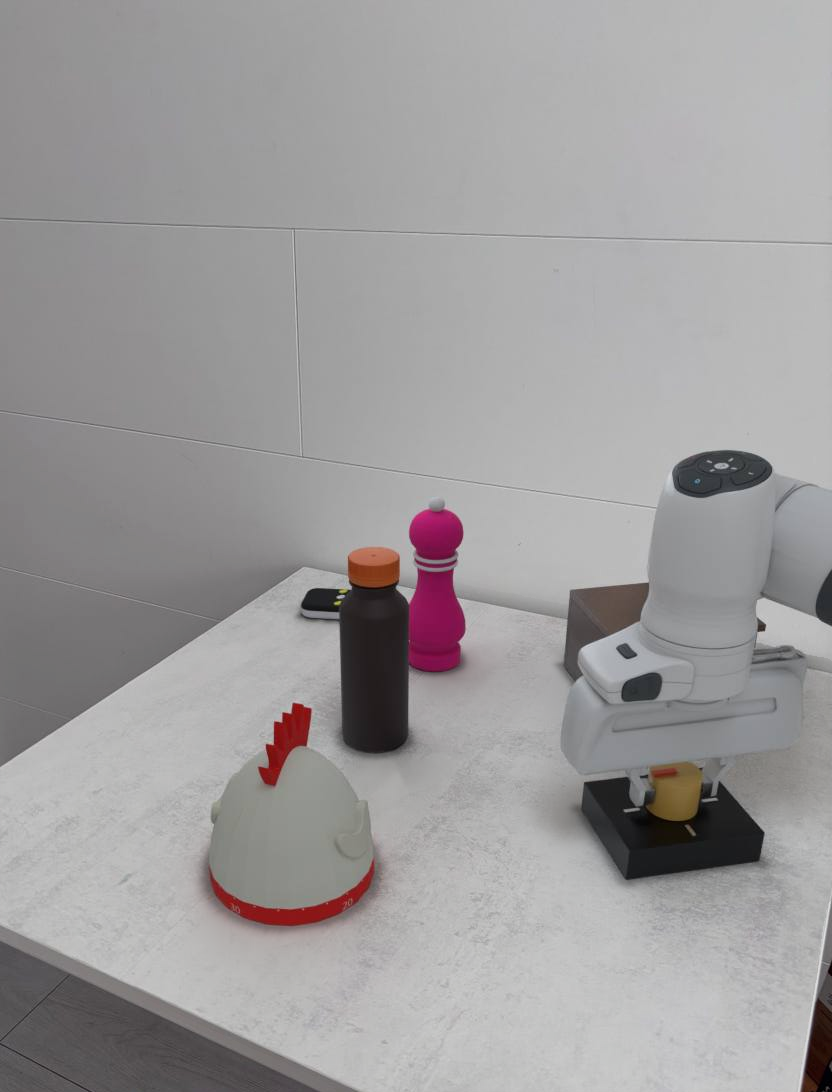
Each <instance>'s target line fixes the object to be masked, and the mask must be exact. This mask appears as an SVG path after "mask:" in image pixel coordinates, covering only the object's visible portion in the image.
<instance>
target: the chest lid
mask: <svg viewBox="0 0 832 1092" xmlns="http://www.w3.org/2000/svg"><path fill="white" fill-rule="evenodd" d="M648 594H649V581H648V582H637V583H627V584H617V585H605V586H595V587H585V588H574V589H573V588H572V589H569V597H571V598H572V599H573V601H574V602H575V603H576V604H577V605H578V606H579V607H580V608H581V610H582V611H583V612H584V613H585V614H586V615H587V616H588V617H589V618H590V620H591V621H592V622H593V623H594V624H595V625H596V626H597V627H598V629H599V630H600V631H601V632H602V633H603V634H604V635H605V636H606V637H608V636H610V635H613V634H615V633H617V632H619V631H621V630H623V629H625V628H627V627H629V626H631V625H633V624H635V623H637V622H639V621H640V618H641V612H642V609H643V606H644V604H645V602H646V600H647V598H648ZM757 622H758V628H757V633H762V632H766V630H767V629H766V628H767V624H766V623H765V622H764V621H762V619H760V618H759V617H757Z"/></svg>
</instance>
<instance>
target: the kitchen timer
mask: <svg viewBox="0 0 832 1092" xmlns="http://www.w3.org/2000/svg"><path fill="white" fill-rule="evenodd" d="M312 709H313V708H312V707H308V706H305V705H304V704H303V703H298V702H292V704H291V711H290V712H291V713H290V712H285V711H282V712H281V713H282V714H281V721H277V720H274V721H273V744H271V743H265V749H264V750H261V751H259V752H257V754H255V755H254V756H253V757H252V758H250V759H249V760H248V761H247V762H246V763H245V764H243V766H242V767H241V768H240V769H239V770H238V771H237V772H235V773H233V775H231V776H230V778H229V780H228V782H227V784H226V786H225V788H224V790H223V792H222V794H221V796H220V797H219V799H218V800H217V801H214V802H212V804H211V809H210V823H211V824H213V827H212V832H211V838H210V844H209V853H208V868H209V878H210V882H211V885H212V888H213V891H214V895H215V896H216V897H217V898H218V899H219V900H220V901H221V902H222V904H223V905H224V906H225V907H226V908H227V909H228V910H230V911H232V912H234V913H236V914H237V915H239V916H241V917H242V918H244V919H247V920H251V921H254V922H258V923H261V924H265V925H273V926H274V925H275V926H290V927H291V926H298V925H299V926H300V925H305V924H312V923H317V922H320V921H323V920H326V919H328V918H332V917H335V916H337V915H340V914H342V912H344V911H345V910H347V909H349V908H350V907H351V906H353V905H354V904H357V902H358V901H360V899H361V898H362V896H363V895H364V894H365V893H366V892H367V890H368V889H369V888H370V886H371V882H372V880H373V877H374V874H375V855H374V844H373V837H372V824H371V815H370V814H371V813H370V809H369V803H368V800H366V799H363V800H360V799H359V797H358V795H357V792H356V791H355V790H354V788H353V786H352V785H351V783H350V782H349V780H348V778H347V777H346V776H345V774H344V773H343V772H342V771H341V770H340V768H338V767H337V766H336V764H334V763H333V762H332V761H331V760H330V759H328V758H327V757H326V756H325V755H324V754H322V753H321V752H319V751H317V750H315V749H312V748H311V747H308V746H307V745H308V741H309V735H310V727H311V720H312V713H313V712H312V711H313V710H312Z"/></svg>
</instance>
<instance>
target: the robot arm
mask: <svg viewBox="0 0 832 1092" xmlns="http://www.w3.org/2000/svg"><path fill="white" fill-rule="evenodd" d="M830 274H831V275H830V276H831V278H832V272H831V273H830ZM647 554H648V555H647V563H646V573H647V580H648V582H649V594H648V598H647V600H646V602H645V604H644V606H643V609H642V612H641V618H640V621H639V622H637V623H635V624H633V625H631V626H629V627H627V628H625V629H623V630H621V631H619V632H617V633H615V634H613V635H610V636H608V637H605V638H603V639H600V640H598V641H595V642H593V643H590V644H588V645H586V646H584V647H583V648H581V650H580V651H579V653H578V666H579V668H580V670H581V671H582V673H583V676H581V677H580V678H579V679H578V680H577V681H574V683H573V684H572V686H571V688H570V690H569V692H568V694H567V698H566V702H565V706H564V711H563V717H562V722H561V730H560V741H559V745H560V749H561V752H562V754H563V756H564V758H565V759H566V760H567V762H568V764H569V765H570V766H571V767H572V768H573V769H574V771H576V772H577V773H578V774H580V775H581V776H589V775H595V774H597V775H598V774H604V773H613V772H619V771H624V773H625V775H626V777H628V778H629V780H630V781H631V783H630V791H629V795H630V799H631V800H632V802H633V803H634V804H635V806H636V807H637V806H645V805H652V804H653V803H654V799H653V797H654V796H655V791H656V789H655V788H654V787H653V786H652V785H651V784H650V782H649V780H648V779H647V778H640V777H639V776H640V775H641V776H643V775H646V774H647V770H648V768H650V767H651V766H659V765H666V764H674V763H682V762H690V763H691V762H697V761H703V760H705V761H706V760H707V762H705V764H704V766H702V767H703V769H702V770H701V772H702V774H703V780H702V786H701V792H700V798H702V797H711V796H716V794H717V788H718V783H719V781H720V782H721V780H722V779H723V778H724V777H725V776H726V775H727V774H728V772H729V771H730V770H731V769H732V768H733V766H734V765H735V763H736V758H737V756H742V755H750V754H758V753H766V752H773V751H783V750H787V749H790V748H791V747H792V746H793V745H794V744H795V743H796V741H798V740H799V738H800V735H801V731H802V722H803V712H804V687H803V684H804V683H805V680H806V675H807V672H808V667H809V660H808V658H807V656H806V654H805V653H804V652H803V651H802V650H801V649H800V650H799V649H797V648H795V647H794V646H793V645H792V644H791V645H789V644H781V645H777V646H775V647H756V645H755V641H756V642H757V639H756V635H757V636H758V634H757V633H758V632H757V628H758V622H757V618H758V616H757V604H758V601H759V600H762V599H764V598H765V599H766V600H768V601H772V602H773V603H777V604H779V605H782V606H785V607H787V608H790V609H792V610H795V611H798V612H800V613H803V614H806V615H809V616H811V617H813V618H817V619H818V620H819V621H820V622H822V623H823V624H826V625H828V626H830V627H832V490H831V489H828V488H824V487H821V486H819V485H817V484H814V483H811V482H807V481H803V480H800V479H798V478H797V479H796V478H793V477H788V476H784V475H782V474H778V473H776V472H775V469H774V467H773V466H772V464H771V463H770V462H769V461H768V460H767V459H766V458H764V457H762V456H760V455H758V454H755V453H752V452H748V451H743V450H735V449H722V450H721V449H719V450H710V451H709V450H708V451H702V452H699V453H695V454H693V455H689V456H688V457H686V458H684V459H681V460H680V461H679V462H678V463H676V464H675V465H674V466H673V467H672V468H671V470H670V471H669V473H668V475H667V477H666V479H665V481H664V484H663V487H662V489H661V493H660V496H659V499H658V503H657V505H656V509H655V514H654V518H653V523H652V529H651V533H650V540H649V546H648V553H647ZM754 646H755V648H754Z"/></svg>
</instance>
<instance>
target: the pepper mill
mask: <svg viewBox="0 0 832 1092" xmlns="http://www.w3.org/2000/svg"><path fill="white" fill-rule="evenodd" d="M445 507H446V502H445V500H444V498H442V497H441V496H437V495H436V496H433V497H431V498H430V499H429V501H428V508H427V509H423V510H422V511H420V512H418V513H417V514H415V516H414V517H413V518H412V520H411V522H410V525H409V527H408V529H409V530H408V537H409V541H410V543H411V545H412V546H413V548H414V549H415V550H414V551H413V552H412V555H413V560H412V563H413V565H414V567H416V571H417V578H416V579H417V580H416V582H417V583H416V585H415V590H414V593H413V595H412V597H411V599H410V601H409V602H408V603H409V665H411V667H413V668H415V669H418V670H421V671H425V672H443V671H448V670H451V669H454V668H455V667H457V666H458V665H459V664H460V662H461V658H462V657H461V654H462V653H461V652H462V646H461V644H460V641H461V640H462V639H463V637H464V636H465V634H466V630H467V625H466V617H465V613H464V610H463V608H462V606H461V604H460V601H459V600H458V598H457V595H456V592H455V587H454V570H455V568H457V566H458V565H459V560H458V557H459V551H457V549H458V548H459V547H460V546H461V544H462V542H463V540H464V533H465V532H464V526H463V522H462V521H461V519H460V517H459V516H458V515H457V514H456V513H454V512H453V511H451V510H449V509H446V508H445Z"/></svg>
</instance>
